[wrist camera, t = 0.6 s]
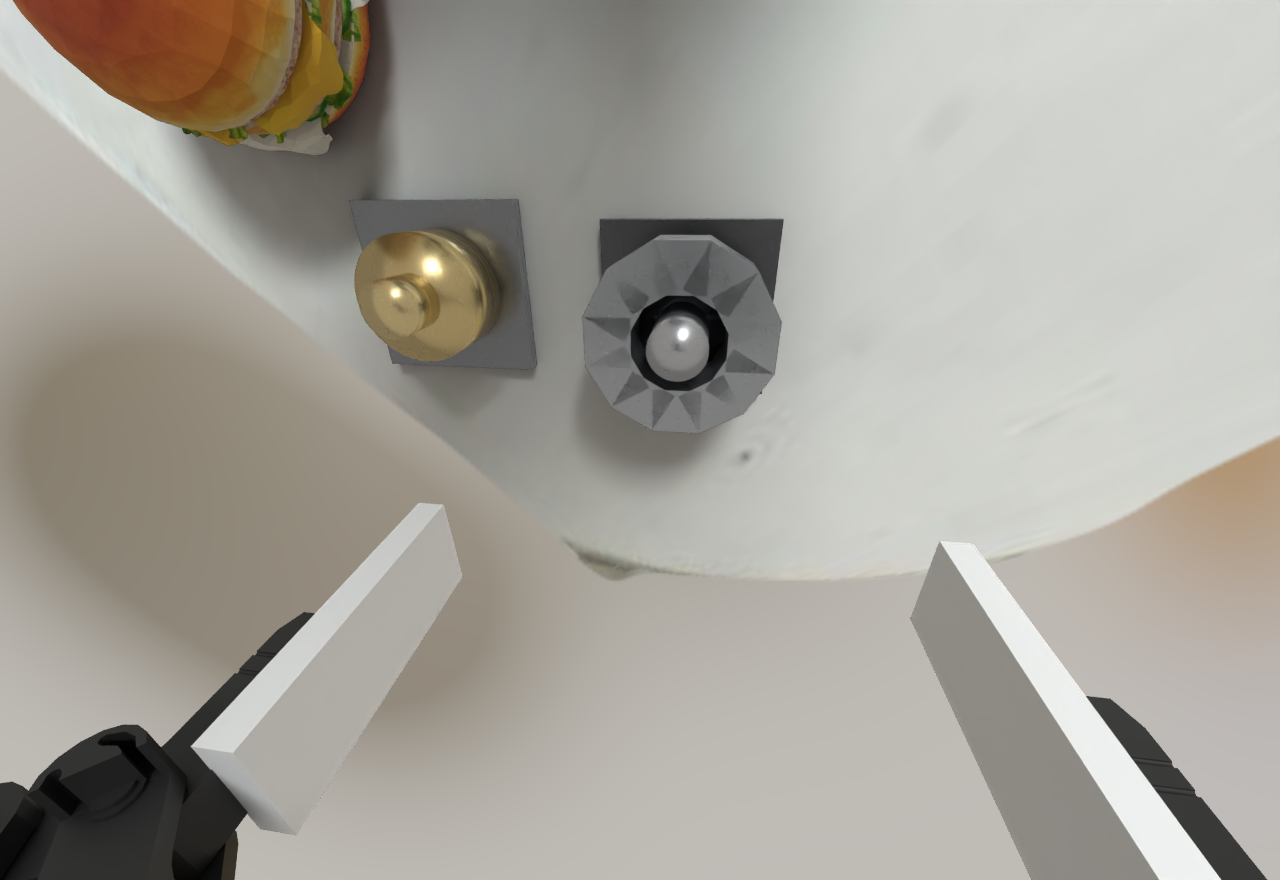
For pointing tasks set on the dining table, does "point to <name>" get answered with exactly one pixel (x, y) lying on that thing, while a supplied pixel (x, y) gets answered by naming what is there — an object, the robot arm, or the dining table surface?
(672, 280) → the grey faceted ring
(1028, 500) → the dining table surface
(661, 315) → the stand
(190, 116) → the burger
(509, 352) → the hub
